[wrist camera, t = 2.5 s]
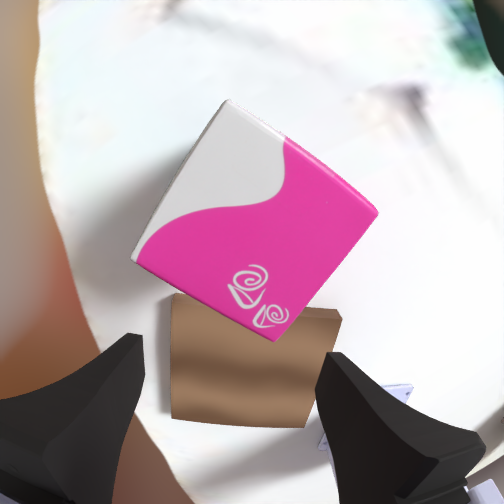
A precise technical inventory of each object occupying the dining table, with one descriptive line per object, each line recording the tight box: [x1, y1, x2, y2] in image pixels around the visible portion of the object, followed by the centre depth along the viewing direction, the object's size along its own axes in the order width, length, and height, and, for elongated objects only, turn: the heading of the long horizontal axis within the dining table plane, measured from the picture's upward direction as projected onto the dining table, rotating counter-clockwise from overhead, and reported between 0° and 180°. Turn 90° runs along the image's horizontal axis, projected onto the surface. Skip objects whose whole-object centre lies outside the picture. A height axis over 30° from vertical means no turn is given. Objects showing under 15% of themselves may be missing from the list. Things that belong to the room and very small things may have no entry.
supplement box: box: [130, 100, 379, 342], centre depth 14 cm, size 6×6×12 cm
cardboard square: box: [171, 293, 342, 428], centre depth 24 cm, size 12×12×2 cm
